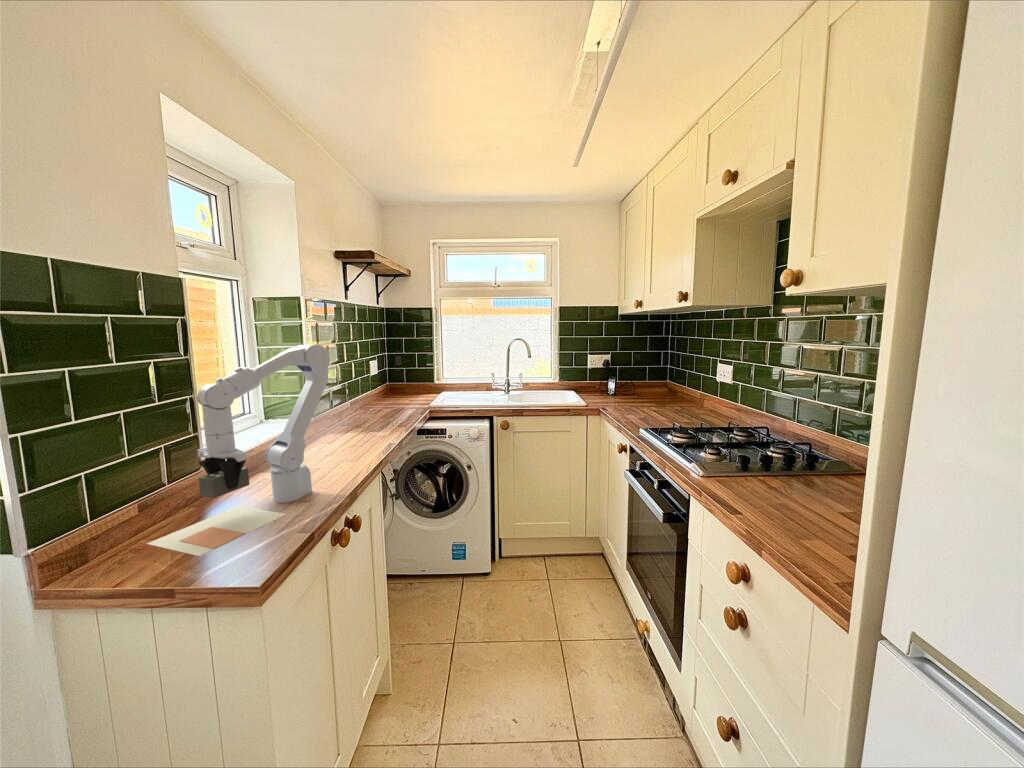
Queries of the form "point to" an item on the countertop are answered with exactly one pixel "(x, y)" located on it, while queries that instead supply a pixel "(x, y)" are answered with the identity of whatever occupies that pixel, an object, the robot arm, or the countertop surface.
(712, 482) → the countertop surface
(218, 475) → the domino block
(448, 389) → the countertop surface
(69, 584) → the countertop surface
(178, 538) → the cream mat
